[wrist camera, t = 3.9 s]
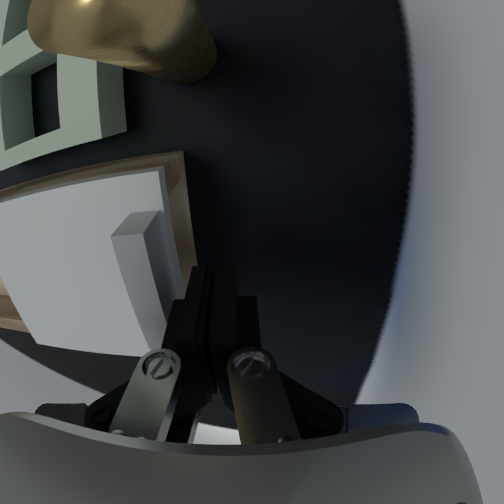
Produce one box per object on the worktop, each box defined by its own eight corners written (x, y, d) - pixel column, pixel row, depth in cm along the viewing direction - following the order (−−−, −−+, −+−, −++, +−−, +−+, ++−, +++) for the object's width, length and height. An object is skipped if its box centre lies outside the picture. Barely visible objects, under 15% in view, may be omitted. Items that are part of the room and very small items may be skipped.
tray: (-30, 201, 13) (-58, 220, 9) (183, 150, 13) (164, 165, 10) (8, 298, 18) (-12, 324, 14) (204, 303, 18) (198, 346, 15)
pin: (157, 37, 10) (39, -36, 1) (216, 28, 10) (176, -89, 1) (159, 88, 11) (23, 76, 3) (218, 81, 12) (168, 23, 3)
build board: (18, 0, 6) (-8, -5, 3) (130, -55, 6) (113, -75, 3) (16, 162, 12) (-12, 176, 10) (127, 131, 12) (101, 138, 10)
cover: (-16, 205, 10) (-46, 226, 7) (163, 166, 10) (140, 187, 7) (41, 335, 15) (25, 363, 12) (198, 347, 15) (193, 387, 12)
